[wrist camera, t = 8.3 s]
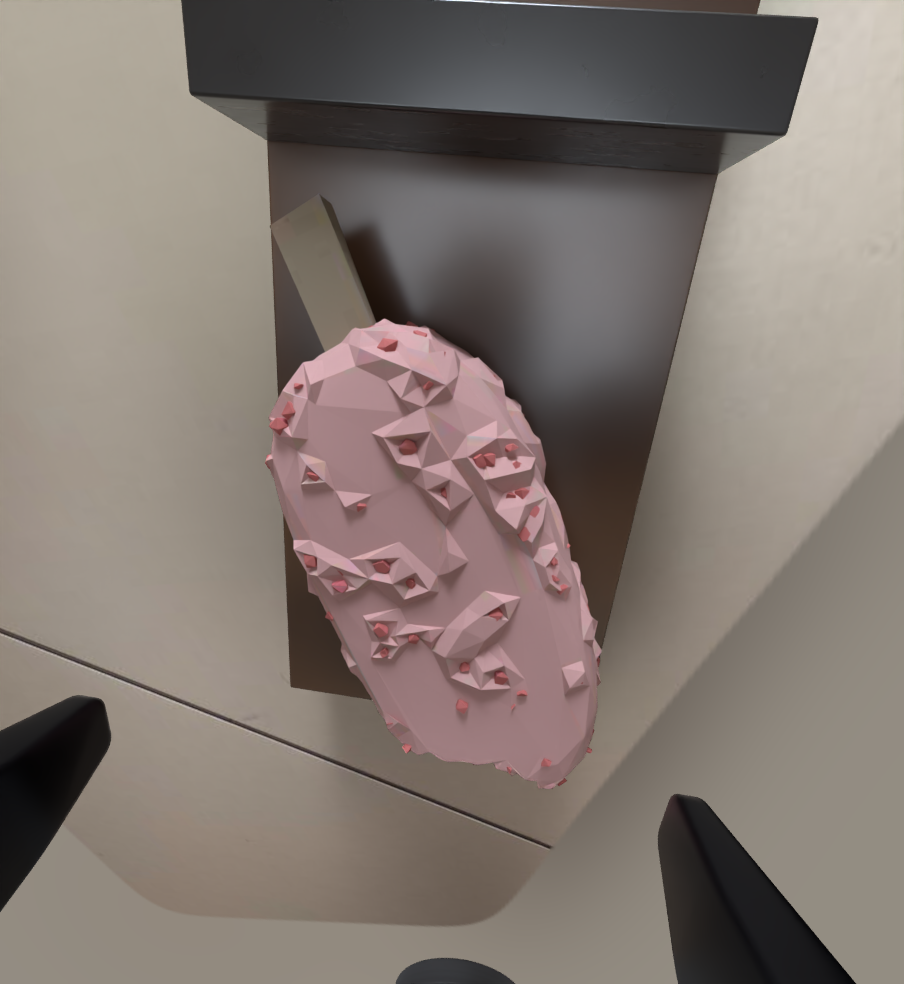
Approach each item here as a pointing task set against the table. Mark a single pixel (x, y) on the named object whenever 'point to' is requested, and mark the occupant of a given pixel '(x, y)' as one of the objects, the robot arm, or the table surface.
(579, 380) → the shelf
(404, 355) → the ice cream bar
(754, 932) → the robot arm
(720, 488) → the table surface
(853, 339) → the table surface
